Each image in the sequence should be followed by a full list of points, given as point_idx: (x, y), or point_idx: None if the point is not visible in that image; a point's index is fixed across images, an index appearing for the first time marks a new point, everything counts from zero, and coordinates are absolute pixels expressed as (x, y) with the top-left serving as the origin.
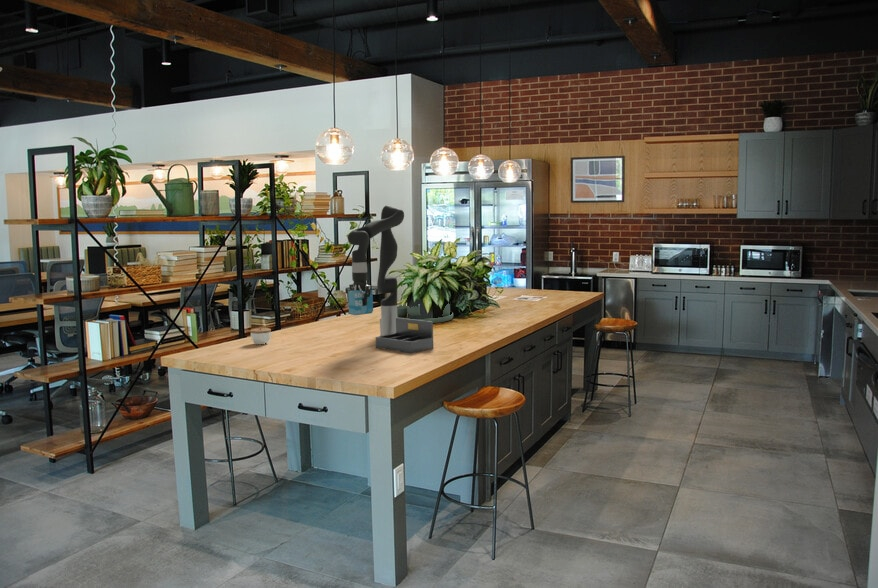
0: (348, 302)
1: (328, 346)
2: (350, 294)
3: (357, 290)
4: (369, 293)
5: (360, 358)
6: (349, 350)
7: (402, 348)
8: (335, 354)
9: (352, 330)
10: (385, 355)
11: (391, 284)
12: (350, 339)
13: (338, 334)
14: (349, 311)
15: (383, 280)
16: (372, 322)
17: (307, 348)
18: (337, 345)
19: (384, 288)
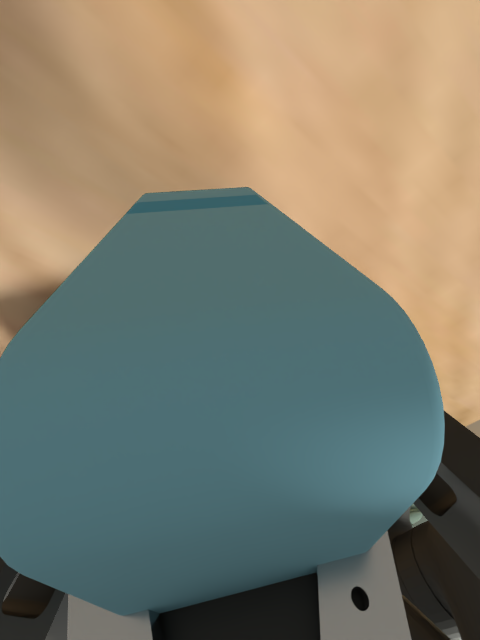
0: (283, 214)
1: (389, 160)
2: (222, 305)
3: (239, 583)
4: (23, 579)
5: (3, 78)
6: (243, 177)
7: None
8: (207, 38)
9: (464, 358)
10: (31, 232)
11: (409, 591)
12: (394, 298)
13: (476, 310)
14: (236, 188)
15: (455, 617)
16: (465, 417)
17: (461, 30)
18: (368, 205)
19: (423, 556)
